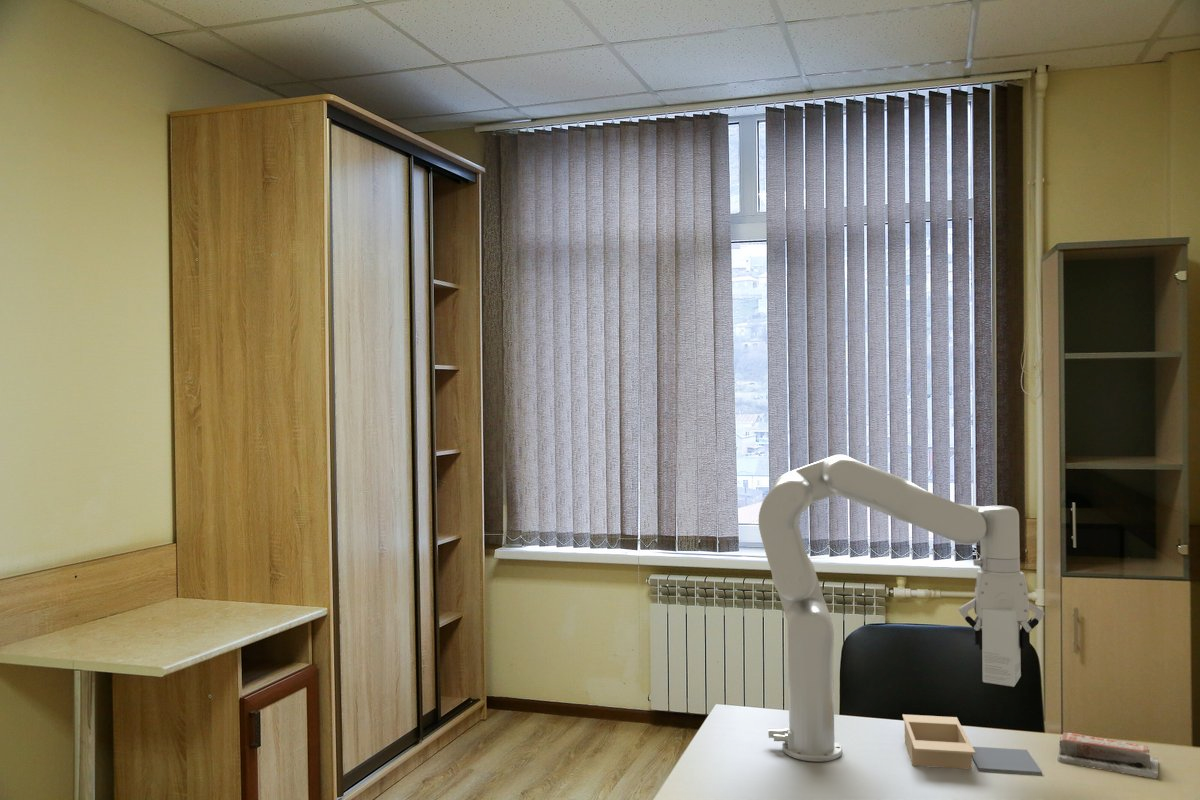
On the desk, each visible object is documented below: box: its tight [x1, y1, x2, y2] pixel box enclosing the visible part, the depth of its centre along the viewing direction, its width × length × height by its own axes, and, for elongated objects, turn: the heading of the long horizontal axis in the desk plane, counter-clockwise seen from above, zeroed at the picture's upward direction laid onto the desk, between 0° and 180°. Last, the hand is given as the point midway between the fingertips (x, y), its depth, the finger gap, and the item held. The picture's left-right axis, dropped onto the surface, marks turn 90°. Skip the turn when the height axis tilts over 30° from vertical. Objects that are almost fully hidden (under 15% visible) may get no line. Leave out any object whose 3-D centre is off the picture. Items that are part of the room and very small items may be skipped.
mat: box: [971, 746, 1043, 776], centre depth 190 cm, size 12×12×1 cm
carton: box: [902, 713, 975, 770], centre depth 194 cm, size 12×21×5 cm, turn 168°
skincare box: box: [981, 608, 1022, 688], centre depth 190 cm, size 8×7×16 cm
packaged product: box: [1057, 732, 1159, 779], centre depth 189 cm, size 18×5×10 cm
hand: (1001, 648), depth 190 cm, fingers closed on skincare box, 8 cm apart
